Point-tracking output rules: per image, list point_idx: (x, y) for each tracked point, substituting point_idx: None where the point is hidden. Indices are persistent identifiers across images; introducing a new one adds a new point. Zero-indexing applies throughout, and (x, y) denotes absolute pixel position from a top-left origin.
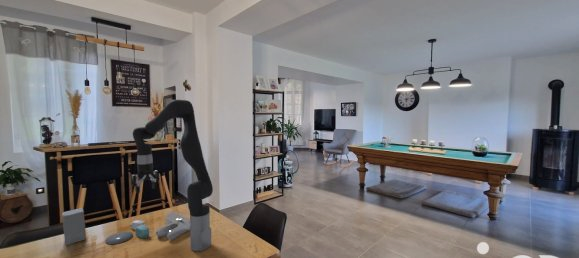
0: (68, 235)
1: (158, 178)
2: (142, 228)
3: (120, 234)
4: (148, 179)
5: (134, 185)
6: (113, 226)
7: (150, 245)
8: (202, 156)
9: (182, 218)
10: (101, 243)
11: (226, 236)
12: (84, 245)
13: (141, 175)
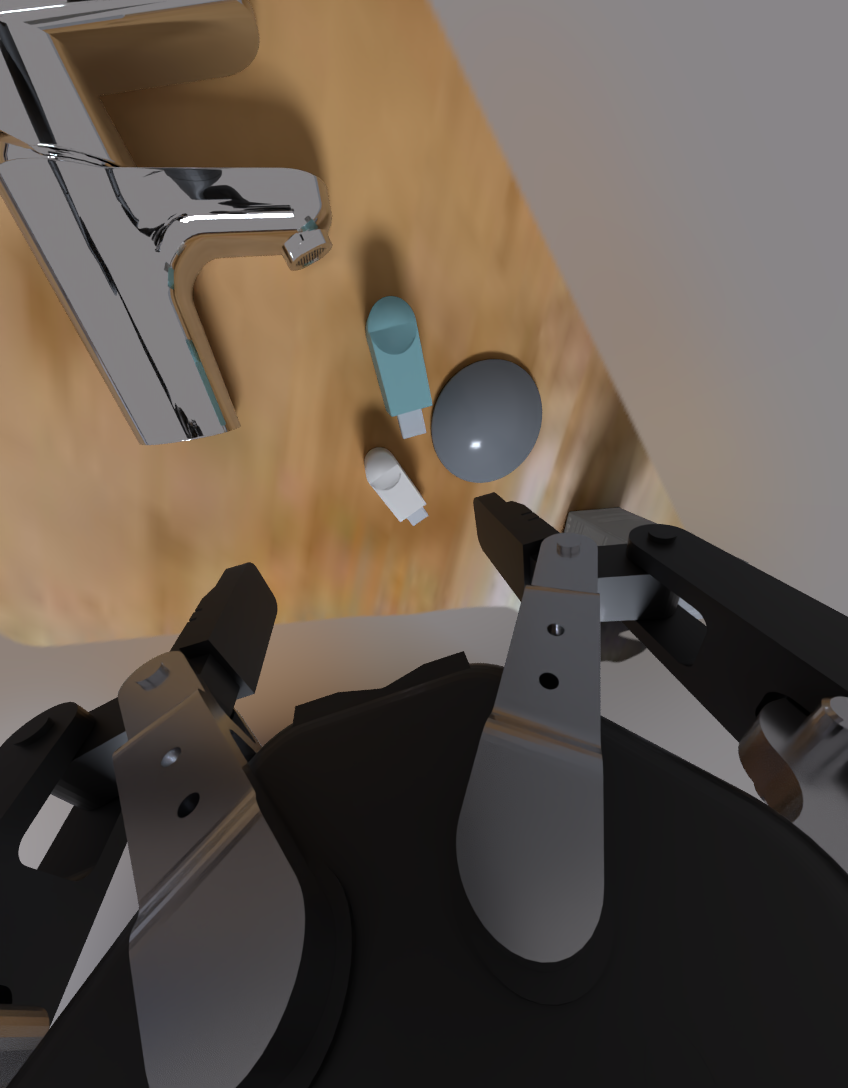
0: (641, 520)
1: (1, 771)
2: (405, 345)
3: (476, 456)
4: (325, 708)
5: (663, 526)
6: (467, 570)
7: (389, 137)
8: None
9: (37, 159)
10: (549, 429)
11: None
12: (589, 460)
13: (706, 897)
